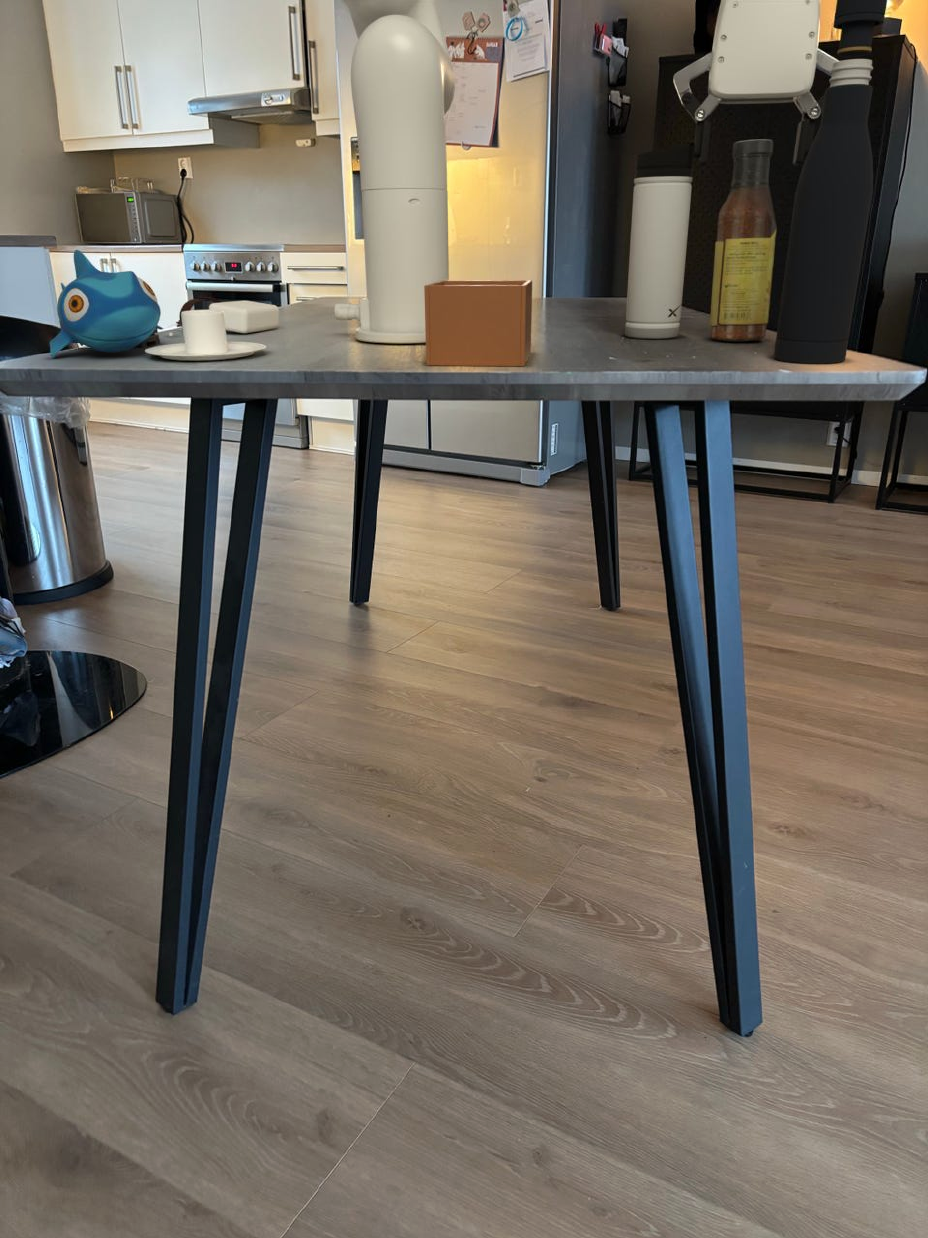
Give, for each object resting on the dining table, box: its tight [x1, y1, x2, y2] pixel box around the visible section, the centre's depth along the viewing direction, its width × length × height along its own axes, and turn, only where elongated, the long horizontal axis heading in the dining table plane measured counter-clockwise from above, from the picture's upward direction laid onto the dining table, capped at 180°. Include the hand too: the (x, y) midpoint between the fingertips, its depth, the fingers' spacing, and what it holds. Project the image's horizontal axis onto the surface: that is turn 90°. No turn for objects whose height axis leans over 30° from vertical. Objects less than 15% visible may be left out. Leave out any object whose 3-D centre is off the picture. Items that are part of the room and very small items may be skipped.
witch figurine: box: [168, 319, 183, 338], centre depth 112 cm, size 5×12×2 cm, turn 175°
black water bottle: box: [773, 0, 888, 365], centre depth 77 cm, size 6×6×30 cm
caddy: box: [424, 279, 533, 367], centre depth 84 cm, size 9×9×7 cm
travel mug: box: [624, 142, 695, 340], centre depth 98 cm, size 6×7×20 cm
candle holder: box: [144, 309, 267, 362], centre depth 88 cm, size 12×12×4 cm
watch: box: [178, 296, 223, 324], centre depth 111 cm, size 8×5×4 cm
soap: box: [208, 300, 280, 334], centre depth 112 cm, size 9×6×3 cm, turn 163°
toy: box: [49, 249, 164, 357], centre depth 90 cm, size 12×18×10 cm, turn 41°
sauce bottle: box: [709, 138, 778, 343], centre depth 94 cm, size 7×6×20 cm
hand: (749, 164), depth 91 cm, fingers open, 9 cm apart
